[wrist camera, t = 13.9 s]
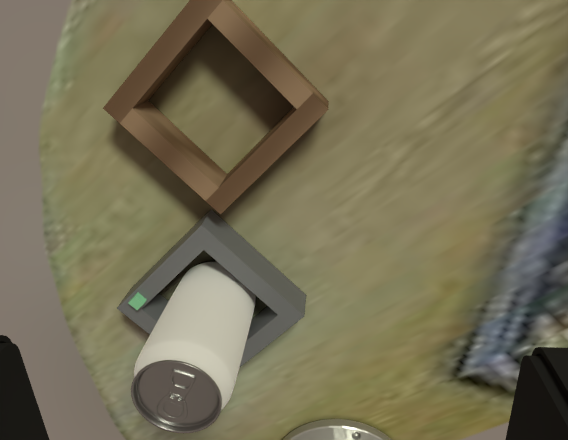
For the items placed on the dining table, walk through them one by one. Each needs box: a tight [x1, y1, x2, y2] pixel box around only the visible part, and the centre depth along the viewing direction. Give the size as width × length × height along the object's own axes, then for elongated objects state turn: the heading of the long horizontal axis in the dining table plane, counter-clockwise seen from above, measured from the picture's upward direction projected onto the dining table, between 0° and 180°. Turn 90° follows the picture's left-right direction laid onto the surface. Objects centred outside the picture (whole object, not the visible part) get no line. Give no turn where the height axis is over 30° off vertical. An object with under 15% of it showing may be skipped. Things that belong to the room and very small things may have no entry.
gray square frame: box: [117, 210, 306, 368], centre depth 39 cm, size 10×10×4 cm
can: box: [131, 262, 256, 433], centre depth 35 cm, size 6×6×12 cm
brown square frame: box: [103, 0, 328, 214], centre depth 33 cm, size 10×10×3 cm
